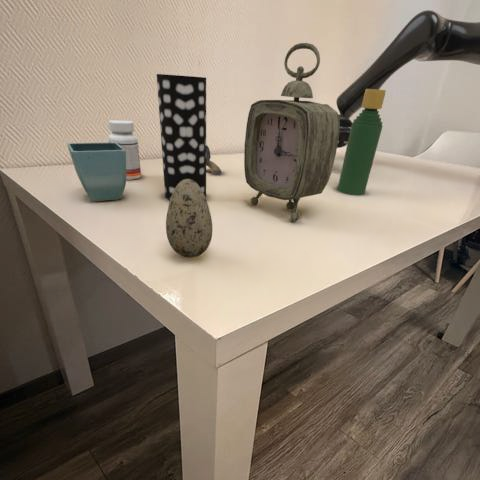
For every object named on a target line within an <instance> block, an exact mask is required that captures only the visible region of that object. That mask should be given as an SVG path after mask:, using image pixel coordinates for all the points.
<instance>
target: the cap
mask: <svg viewBox="0 0 480 480" xmlns="http://www.w3.org/2000/svg"><path fill="white" fill-rule="evenodd" d="M386 92H387V90H386V89H379V90H376V89H366V90H365V93H364V98H363V102H362V108H361V109H365V108H370V109H377V110H382V108H383V104H384V101H385V96H386Z"/></svg>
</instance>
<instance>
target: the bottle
mask: <svg viewBox="0 0 480 480" xmlns="http://www.w3.org/2000/svg"><path fill="white" fill-rule="evenodd" d="M383 123H384V122H383V121H382V118H381V114H379V110H378V109H370V108H363V109H362V110H361V112H359V114H358V115H357V116H356V118H354V119H353V122H352V126H351V130H350V135H349V139H348V144H347V145H346V149H345V154H344V158H343V162H342V167H341V172H340V175H339V180H338V184H337V191H338V192H339V193H342V194H346V195H351V196H361V195H364V194H365V193H366V190H367V186H368V182H369V179H370V174H371V171H372V167H373V163H374V161H375V160H374V159H375V155H376V151H377V149H378V145H379V142H380V137H381V133H382V130H383Z"/></svg>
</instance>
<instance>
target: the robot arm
mask: <svg viewBox="0 0 480 480" xmlns="http://www.w3.org/2000/svg"><path fill="white" fill-rule="evenodd" d="M413 60H414V61H417V62H438V61H443V62H445V61H458V62H465V63H469V64H472V65H478V66H480V21H476V22H473V21H471V22H470V21H463V20H462V21H461V20H455V19H450V18H446V17H444V16H443V15H441V14H439V13H438V12H436V11H435V10H431V9H430V10H429V9H427V10H422V11H420V12H418V13H417V14H415V15H414V16H413V17H411V19H410V20H409V21H408V22H407V23H406V25H404V27H403V28H402V29H401V30H400V32H399V33H398V34H397V35H396V36H395V38H394V39H393V40H392V41H391V42H390V43H389V44H388V46H387V47H386V48H385V49H384V51H382V53H380V55H379V56H378V57H377V58H376V59H375V60H374V61H373V63H372V64H371V65H370V66H368V68H367V69H366V70H365V71H364V72H363V73H362V74H361V75H360V76H359V77H358V78H356V79H355V80H354V81H353V82H352V83H351V84H350V85H349V86H347V88H345V89H344V91H342V92H341V93H340V94H339V95H338V96H337V98H336V101H335V103H336V107H337V110H338V115H339V121H340V130H339V138H338V144H337V149H340V148H341V149H342V148H344V147H346V146H347V144H348V139H349V135H350V130H351V126H352V123H353V122H352V119H350V118H351V117H353V115H354V114H356V113H357V112H358V111H359V110H361V109H363V108H362V102H363V98H364V93H365V90H366V89H376V90H381V88H382V87H383V86H384V84H385V83H386V82H387V81H388V80H389V79H390V78H391V77H392V76H393V75H394V74H395V73H396V72H397V71H398V70H400V69H401V68H403V67H404V66H405V65H407V64H408V63H410V62H411V61H413ZM323 104H324V105H328V106H330V105H329V104H327V103H323Z"/></svg>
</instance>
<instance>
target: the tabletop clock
mask: <svg viewBox="0 0 480 480" xmlns="http://www.w3.org/2000/svg"><path fill="white" fill-rule="evenodd" d="M304 49H305V50H310V51H311V52H313V53H314V56H315V57H316V63H315V66H314V68H312V69H311V70H309V71H306V72H304V71H305V69H304V67H303V66H301V65H300V66H298V67H297V68H296V72H295V71H293V70H291V69H290V68H289V67H288V61H289V58H290V57H291V55H292V54H293V53H294V52H295V51H297V50H298V51H299V50H304ZM320 55H321V54H320V52H319V50H318V47H316V46H315V44H313V43H308V42H300V43H297V44H294V45H293V46H291V48H290V49H289V50H288V51H287V53H286V55H285V56H284V57H285V58H284V62H283V63H284V64H283V65H284V70H285V71H286V73H287V75H289V76H290V77H292V78H293V79H295V80H291V81H289V82H288V83H286V85H284V88H283V89H282V92H281V93H280V97H288V98H293V99H291V100H289V99H261V100H260V99H259V100H256V101H255V102H253V103H252V104H251V105H250V109H249V111H248V115H247V119H246V120H247V121H246V127H245V138H244V153H243V154H244V156H243V157H244V158H243V164H244V165H243V166H244V177H245V183H246V184H247V185H248V186H249V187H250V188H252V190H255V191H256V192H258V193H257V195H256V196H252V197H251V198H250V199H249V201H250V204H251V206H254V207H255V206H257V205H258V204H259V198H261V196H262V195H264V196H266V197H270V198H274V199H277V200H282V201H288V202H286V205H285V207H286V209H287V210H289V211H292V210H293V212H292V213H291V214H290V215H289V219H290V221H291V222H293V223H295V222H297V221H299V219H300V215H299V212H297V211H298V206H299V201H300V200H301V198H306V197H311V196H317V195H320V194H322V193H323V191H324V190H325V188H326V186H327V185H328V183H329V180H330V178H331V175H332V171H333V167H334V163H335V159H336V155H337V149H338V148H337V144H338V138H339V130H340V121H339V115H340V114H339V112H338V111H337V110H336V109H334V108H333V107H331V105H329V104H328V105H329V106H328V105H324V104H325V103H320V102H314V101H310V100H300V99H314V94H313V89H312V87H311V85H310V84H309V83H308V82H307V81H304V79H307V78H309V77H312V76H314V74H315V73H316V72H317V70H318V69H319V67H320V63H321V56H320ZM338 114H339V115H338Z"/></svg>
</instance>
